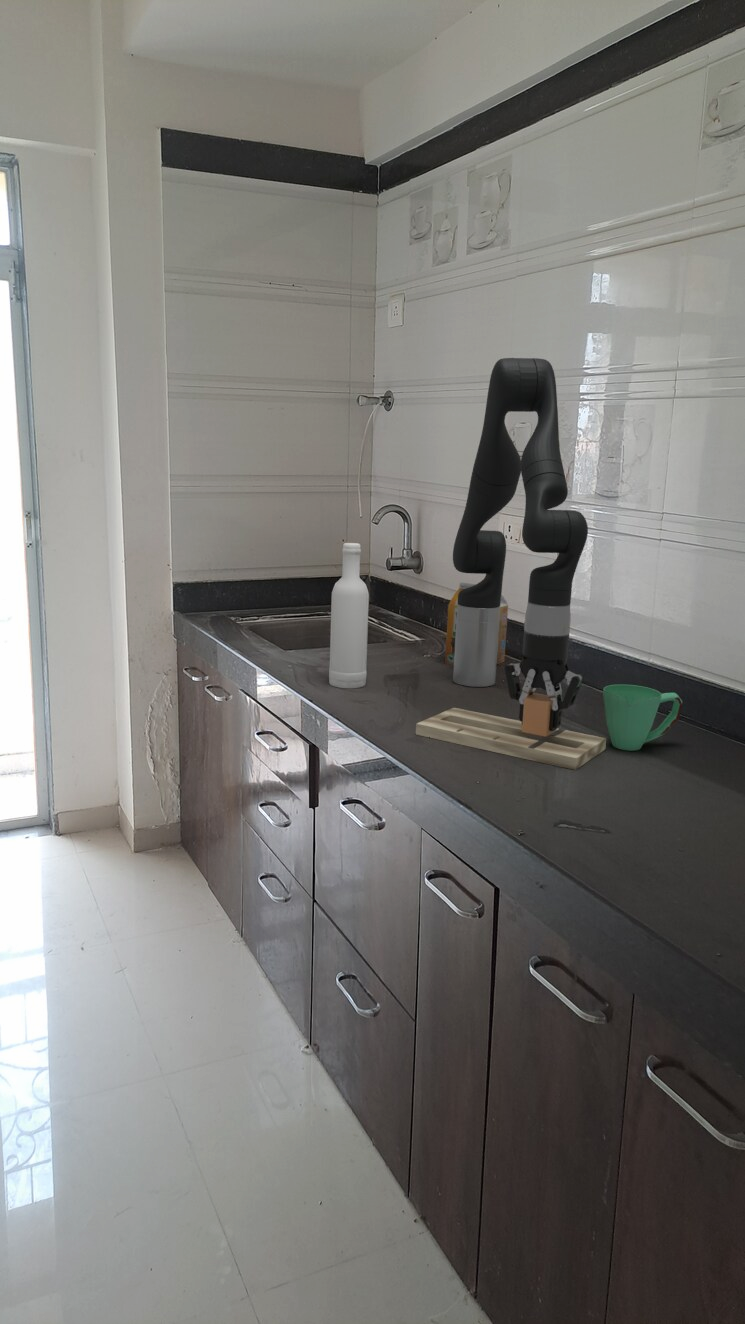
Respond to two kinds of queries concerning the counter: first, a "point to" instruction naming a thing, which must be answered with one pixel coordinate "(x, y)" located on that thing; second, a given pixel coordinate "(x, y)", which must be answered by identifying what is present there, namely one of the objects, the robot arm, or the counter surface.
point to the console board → (511, 738)
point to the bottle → (349, 623)
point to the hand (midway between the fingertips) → (539, 726)
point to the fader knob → (537, 717)
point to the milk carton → (453, 619)
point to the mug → (636, 714)
